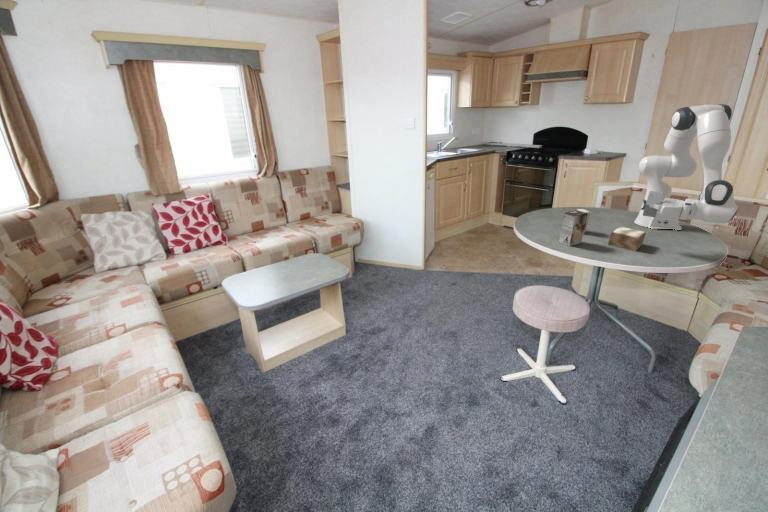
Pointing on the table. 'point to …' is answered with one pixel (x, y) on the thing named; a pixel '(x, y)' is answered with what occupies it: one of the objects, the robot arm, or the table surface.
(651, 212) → the block
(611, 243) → the walnut stand
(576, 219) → the coffee box
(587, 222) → the skincare box
